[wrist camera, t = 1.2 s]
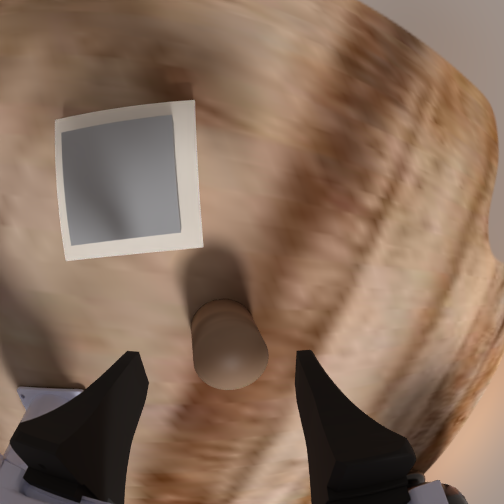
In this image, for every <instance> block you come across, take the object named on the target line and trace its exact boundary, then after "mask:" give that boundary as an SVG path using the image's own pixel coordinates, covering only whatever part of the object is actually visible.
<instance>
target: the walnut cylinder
mask: <svg viewBox="0 0 504 504" xmlns="http://www.w3.org/2000/svg"><path fill="white" fill-rule="evenodd" d="M191 334H192V348H193V361H194V368H195V370H196V373H197V374H198V376H199V377H200V378H201V379H202V380H203V381H204V382H205V383H206V384H208V385H210V386H212V387H214V388H218V389H223V390H234V389H239V388H242V387H245V386H248V385H249V384H251V383H253V382H254V381H256V380H257V379H258V378H259V377H260V376H261V375H262V373H263V372H264V370H265V368H266V366H267V363H268V349H267V346H266V344H265V342H264V340H263V338H262V336H261V334H260V332H259V330H258V328H257V326H256V324H255V322H254V320H253V318H252V316H251V314H250V313H249V311H248V310H247V309H246V308H245V307H244V306H243V305H242V304H240V303H238V302H236V301H233V300H229V299H218V300H214V301H211V302H208V303H207V304H205V305H203V306H202V307H201V308H200V309H199V310H198V311H197V312H196V314H195V315H194V317H193V320H192V324H191Z"/></svg>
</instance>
